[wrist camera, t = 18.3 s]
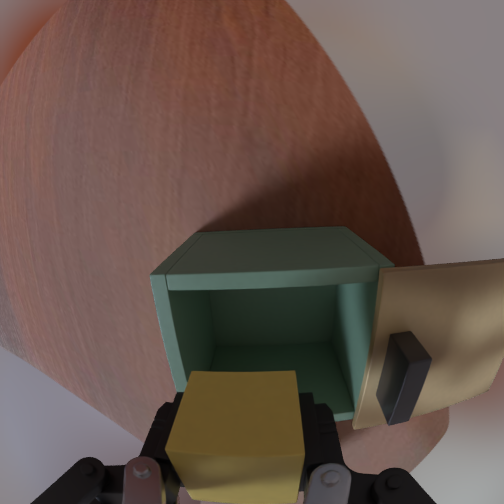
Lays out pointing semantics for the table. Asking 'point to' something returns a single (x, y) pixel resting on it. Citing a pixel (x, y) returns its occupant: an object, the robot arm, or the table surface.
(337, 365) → the case
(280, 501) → the block
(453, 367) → the slide door
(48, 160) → the table surface
